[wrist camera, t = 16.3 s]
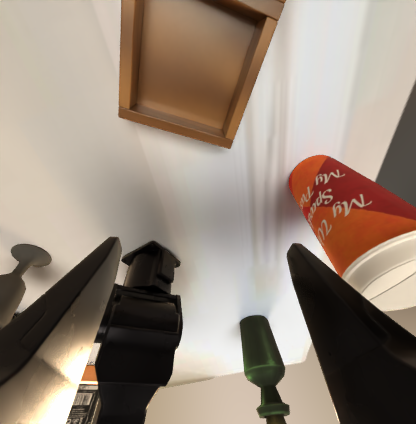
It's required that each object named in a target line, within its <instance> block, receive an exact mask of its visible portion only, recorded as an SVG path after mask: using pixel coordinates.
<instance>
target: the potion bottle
mask: <svg viewBox="0 0 416 424" xmlns="http://www.w3.org/2000/svg"><path fill="white" fill-rule="evenodd" d="M240 329H241V340H242V351H243V362H244V372H245V376H246V378H247V379H248V381H250V382H252V383H253V384H255V385H257V386H258V387H260V388H261V405H260V406H259V407H258V408H257V409H256V410H257V412H258V415H259V417H260V418H266V422H267V424H286V422H285V419H284V416H287V415H289V414H290V411H289V405H287V404H285V403H283V402H282V400H281V397H280V395H279V393H278V391H277V389H276V385H277V384H278V383H279V381H280V380H281V379H282V378H283V377H284V373H285V366H284V364H283V361H282V358H281V355H280V353H279V350H278V347H277V344H276V342H275V339H274V336H273V333H272V331H271V328H270V325H269V322H268V320H267V319H266V318H265V317H263V316H250V317H246V318H245V319H243V320H242V321H241V322H240Z"/></svg>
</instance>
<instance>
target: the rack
mask: <svg viewBox="0 0 416 424" xmlns="http://www.w3.org/2000/svg"><path fill="white" fill-rule="evenodd" d="M285 2H286V0H121V38H120V76H119V113H118V116H119V117H120V118H123V119H127V120H130V121H134V122H137V123H141V124H144V125H148V126H151V127H155V128H158V129H162V130H165V131H169V132H172V133H176V134H179V135H183V136H186V137H190V138H193V139H197V140H200V141H204V142H207V143H211V144H214V145H218V146H221V147H225V148H228V149H230V148H231V145H232V143H233V140H234V137H235V135H236V132H237V129H238V127H239V124H240V121H241V119H242V116H243V113H244V111H245V108H246V105H247V103H248V100H249V97H250V95H251V92H252V89H253V87H254V84H255V81H256V79H257V76H258V73H259V71H260V68H261V65H262V63H263V60H264V57H265V55H266V52H267V50H268V47H269V44H270V42H271V39H272V36H273V34H274V31H275V28H276V26H277V21H278V20H279V18H280V15H281V13H282V10H283V7H284V3H285Z"/></svg>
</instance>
